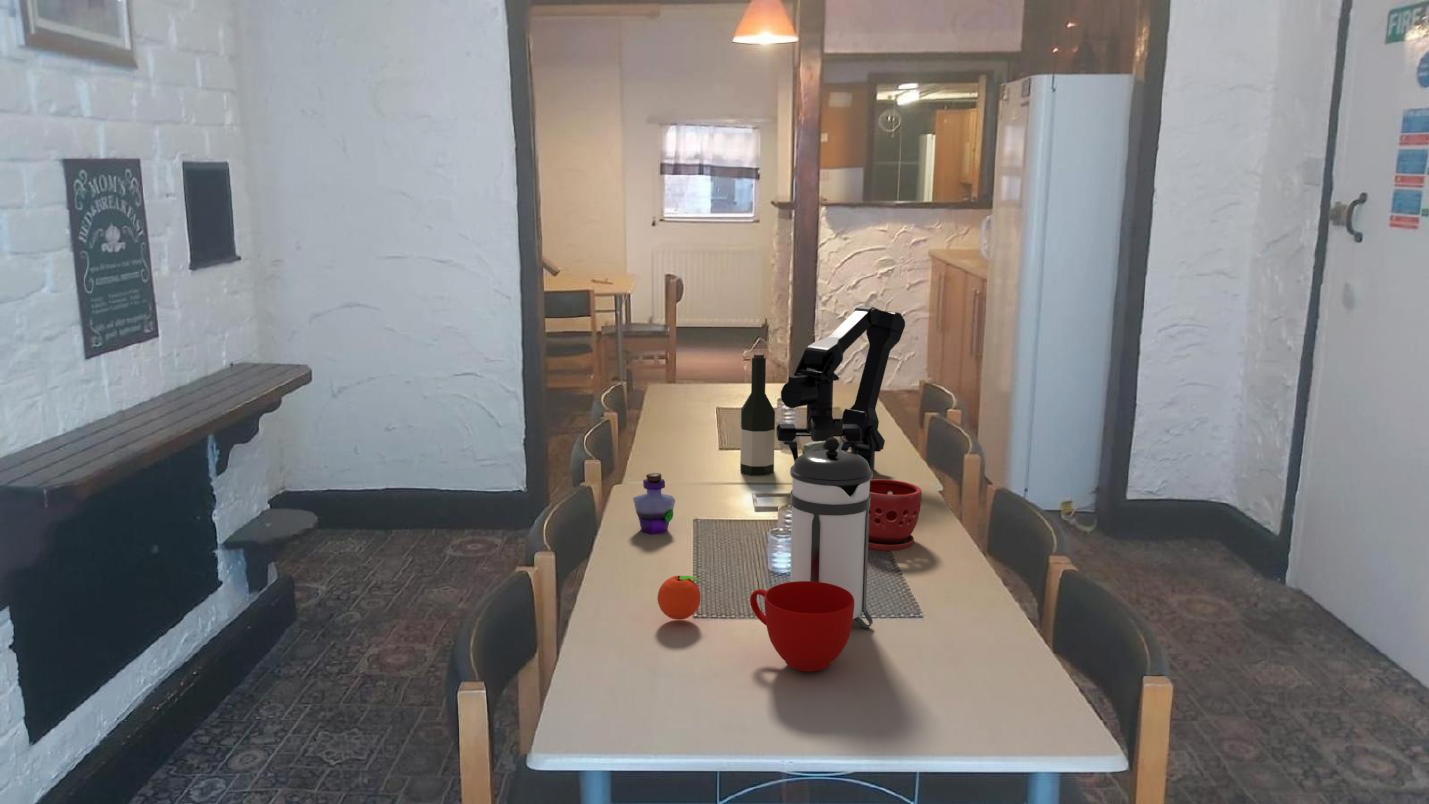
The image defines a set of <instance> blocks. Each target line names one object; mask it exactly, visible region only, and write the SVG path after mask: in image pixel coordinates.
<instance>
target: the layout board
mask: <svg viewBox="0 0 1429 804" xmlns="http://www.w3.org/2000/svg"><path fill="white" fill-rule="evenodd" d="M892 494H893V493H892V492H890V493H889V492H888V495H892ZM757 497H758V498H759V497H760V498H761V497H791V492H759V493H758V492H752V493H751V498H752V503H753V508H754V512H760V511H762V512H763V511H767V512H768V511H769V512H771V511H777V510H778V507H779V506H780V505H758V499H757Z"/></svg>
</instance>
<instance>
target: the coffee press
mask: <svg viewBox="0 0 1429 804" xmlns="http://www.w3.org/2000/svg"><path fill="white" fill-rule="evenodd" d="M824 445H825V447H826V449H824V450H814V451H810V452H807V453H804V454H801V455H798V458H797V459H796V461H795V462H794V463H793V465H791V467H790V468H789V469H790V470H789V474H790V477H791V478H792V482H791V483H792V484H791V485H792V487H791V491H790V493H791V496H790V506H792V510H791V523H790V524H791V525H790V528H791V530H790V531H791V532H790V566H789V567H790V571H789V573H790V574H789V576H790V577H789V582H796V581H814V582H822V583H828V584H832V585H836V586H839V587H841V588H843V589H845V590H847V591H848V592H850V593H851V594H852V596H853V598H854V613H853V621H856V622H857V623H858V624H859V625H860V626H861V627H862V628H863V629H865V630H866V629H870V627H871V626H872V625H873V623H874V621H873V618H872V617H871V615H870V613H869V612H868V608H867V592H868V591H867V589H868V588H867V587H868V563H869V562H868V560H869V558H868V557H869V548H868V538H869V508H870V503H871V494H870V492H869V489H870V481H871V479H873V477H874V475H873V472H874V471H872V470H871V469H870V467H869V464H868V462H867V461H866V460H865V459H864V458H863V457H861V456H860V455H858V454H855V453H852V452H851V451H849V450H847V451H843V450H838V449H839V445H840V444H839V440H838V439H837V438H836V437H834V438H833V437H831V438H828V439H827V440H826V441H825V444H824ZM862 613H863V615H864V617H865V619H866V620H867V622H868V624H867V623H866V622H865V621H864V620H863V619H862V618H861V617H860V616H861V615H862Z"/></svg>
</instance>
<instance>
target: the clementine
mask: <svg viewBox="0 0 1429 804" xmlns="http://www.w3.org/2000/svg"><path fill="white" fill-rule="evenodd" d="M694 580H696V581H700V582H701V579H699V578H697V577H695V576H691V575H673V576H670V577H669V578H666V579H665V581H664V582H663V583H662V584H661V585H660V587H659V588H658V591H657V604H658V607H659V608H660V611H661V612H662V613H663V614H664V615H665V616H667V617H668V618H670V619H672V620H685V619H688V618H689V617H692V616H693V615H694V614H695V613H696V611H698V609H699V606H700V604H701V598H702V597H701V591H700V589H699V586H698V585H697V583H696V582H695V581H694ZM702 585H703V586H704V589H706V586H705V584H704V583H702Z"/></svg>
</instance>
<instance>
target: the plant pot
mask: <svg viewBox="0 0 1429 804" xmlns="http://www.w3.org/2000/svg"><path fill="white" fill-rule="evenodd" d="M869 492H870V494H871V503H870V508H869V538H868V550H869V549H870V550H876V551H887V552H888V551H889V552H890V551H892V552H893V551H900V550H904V549H907V548H910V547H911V546H912V545H913V544H914V542H915V538H914V536H913V535H912V534H913V532H914V530H915V528H916V526H917V523H918V519H919V516H920V513H921V512H920V510H921V505H922V494H923V493H922V492H923V491H922V489H921V488H920V487H919V486H917V485H915V484H914V483H909V482H906V481H902V480H897V479H896V480H894V479H885V478H883V479H881V478H879V479H877V478H874V479H873V478H872V479H871V481H870V489H869ZM889 492H890V493H893V494H892V495H888V493H889Z"/></svg>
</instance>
